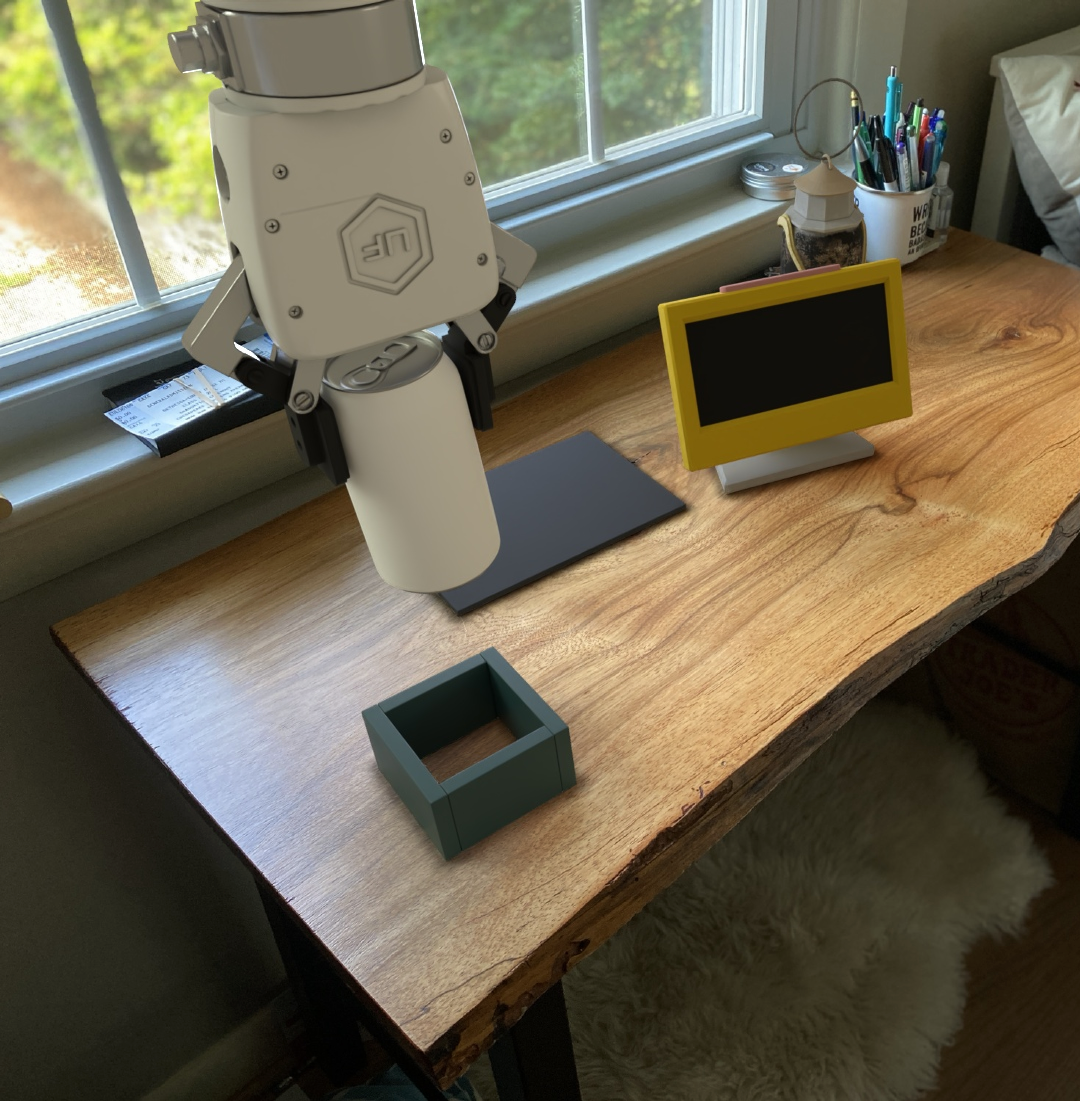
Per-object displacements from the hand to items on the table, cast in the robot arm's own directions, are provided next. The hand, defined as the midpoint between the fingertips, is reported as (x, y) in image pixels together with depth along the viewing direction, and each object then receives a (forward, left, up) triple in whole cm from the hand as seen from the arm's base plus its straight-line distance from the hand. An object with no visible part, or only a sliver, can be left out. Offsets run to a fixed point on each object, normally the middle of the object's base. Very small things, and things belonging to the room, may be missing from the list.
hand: (403, 441), depth 53 cm
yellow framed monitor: (+36, +13, -23) cm, 45 cm away
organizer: (-1, -1, -23) cm, 23 cm away
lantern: (+51, +25, -23) cm, 62 cm away
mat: (+15, +19, -23) cm, 33 cm away
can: (+1, 0, -7) cm, 8 cm away
